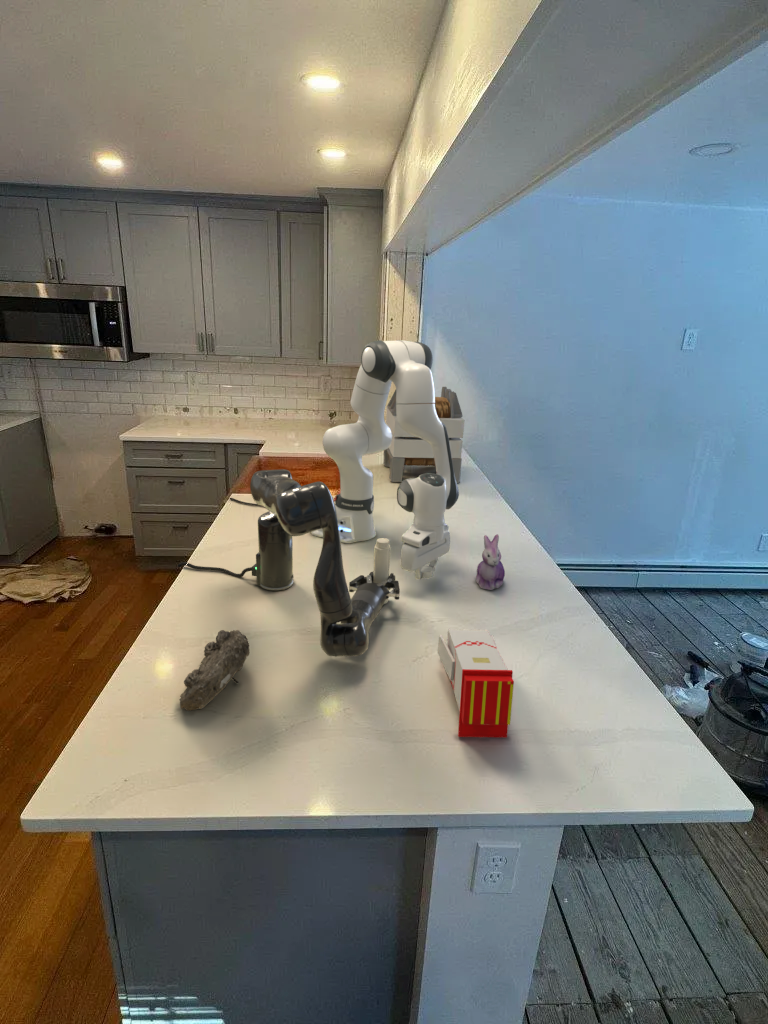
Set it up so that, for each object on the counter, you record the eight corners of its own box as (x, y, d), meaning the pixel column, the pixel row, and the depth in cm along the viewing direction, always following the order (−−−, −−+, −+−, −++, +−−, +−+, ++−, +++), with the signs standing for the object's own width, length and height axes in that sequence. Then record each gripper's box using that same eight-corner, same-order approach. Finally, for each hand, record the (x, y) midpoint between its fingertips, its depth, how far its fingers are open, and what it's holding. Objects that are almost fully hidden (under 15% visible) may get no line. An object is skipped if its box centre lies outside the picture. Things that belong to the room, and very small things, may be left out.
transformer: (382, 463, 289) (386, 382, 275) (445, 464, 293) (451, 384, 279) (390, 482, 257) (394, 392, 243) (460, 483, 261) (468, 394, 247)
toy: (488, 613, 130) (523, 677, 101) (484, 667, 133) (517, 744, 104) (435, 612, 130) (455, 676, 101) (432, 666, 133) (451, 743, 103)
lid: (415, 576, 164) (415, 570, 163) (420, 570, 168) (420, 564, 167) (430, 579, 162) (430, 573, 162) (435, 573, 166) (435, 567, 166)
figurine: (487, 593, 160) (493, 544, 155) (466, 578, 168) (471, 531, 163) (513, 587, 164) (520, 540, 159) (491, 573, 172) (497, 527, 167)
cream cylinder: (390, 600, 154) (394, 540, 148) (381, 606, 151) (383, 544, 145) (378, 595, 156) (381, 536, 150) (369, 601, 153) (371, 540, 147)
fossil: (201, 632, 127) (249, 601, 122) (231, 661, 130) (278, 632, 125) (157, 704, 108) (212, 671, 103) (193, 736, 111) (248, 705, 106)
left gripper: (395, 595, 136) (409, 566, 151) (338, 586, 139) (358, 558, 154) (393, 622, 138) (408, 591, 154) (337, 613, 141) (358, 583, 157)
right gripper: (439, 519, 170) (435, 561, 175) (397, 537, 155) (395, 583, 159) (457, 524, 166) (453, 567, 171) (416, 544, 151) (413, 590, 156)
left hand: (383, 575), depth 154 cm, fingers closed on cream cylinder, 4 cm apart
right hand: (425, 575), depth 165 cm, fingers closed on lid, 5 cm apart
